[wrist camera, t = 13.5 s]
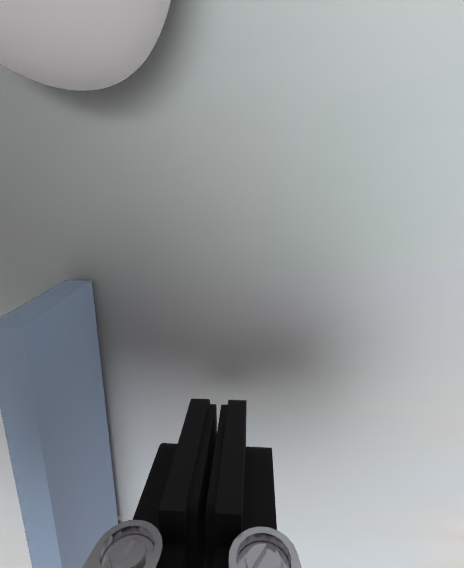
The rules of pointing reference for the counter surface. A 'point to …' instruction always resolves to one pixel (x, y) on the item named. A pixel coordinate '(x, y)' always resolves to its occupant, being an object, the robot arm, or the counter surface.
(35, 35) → the white bunny figurine
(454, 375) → the counter surface
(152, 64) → the counter surface
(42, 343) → the cover
